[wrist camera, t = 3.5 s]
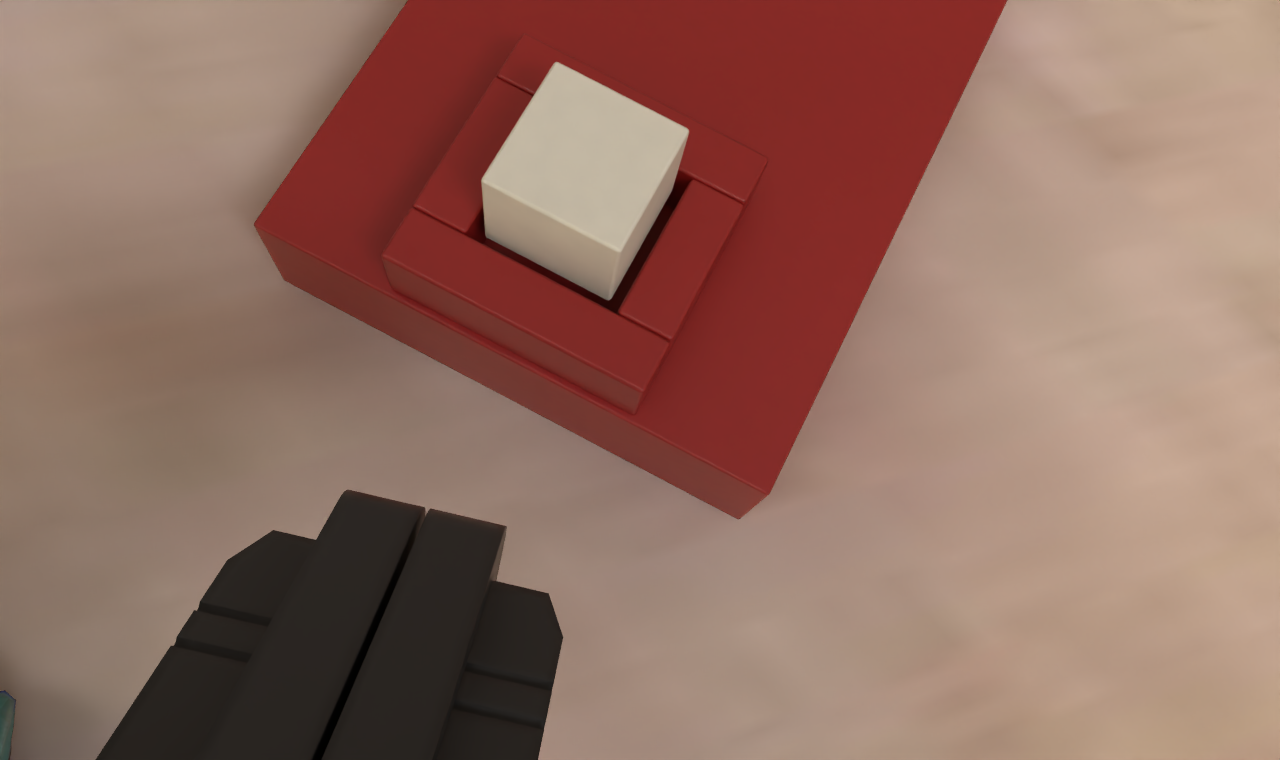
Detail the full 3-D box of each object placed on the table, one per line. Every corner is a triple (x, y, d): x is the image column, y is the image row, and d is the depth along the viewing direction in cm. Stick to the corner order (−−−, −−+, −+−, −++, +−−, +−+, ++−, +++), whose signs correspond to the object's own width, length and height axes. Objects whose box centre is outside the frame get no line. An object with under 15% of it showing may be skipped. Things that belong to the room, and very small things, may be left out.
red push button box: (282, 280, 26) (229, 185, 22) (600, -195, 31) (615, -359, 26) (739, 520, 26) (789, 478, 21) (992, 1, 30) (1079, -130, 26)
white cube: (483, 237, 22) (479, 179, 20) (551, 127, 23) (555, 58, 21) (609, 302, 22) (620, 253, 20) (672, 189, 23) (691, 128, 20)
